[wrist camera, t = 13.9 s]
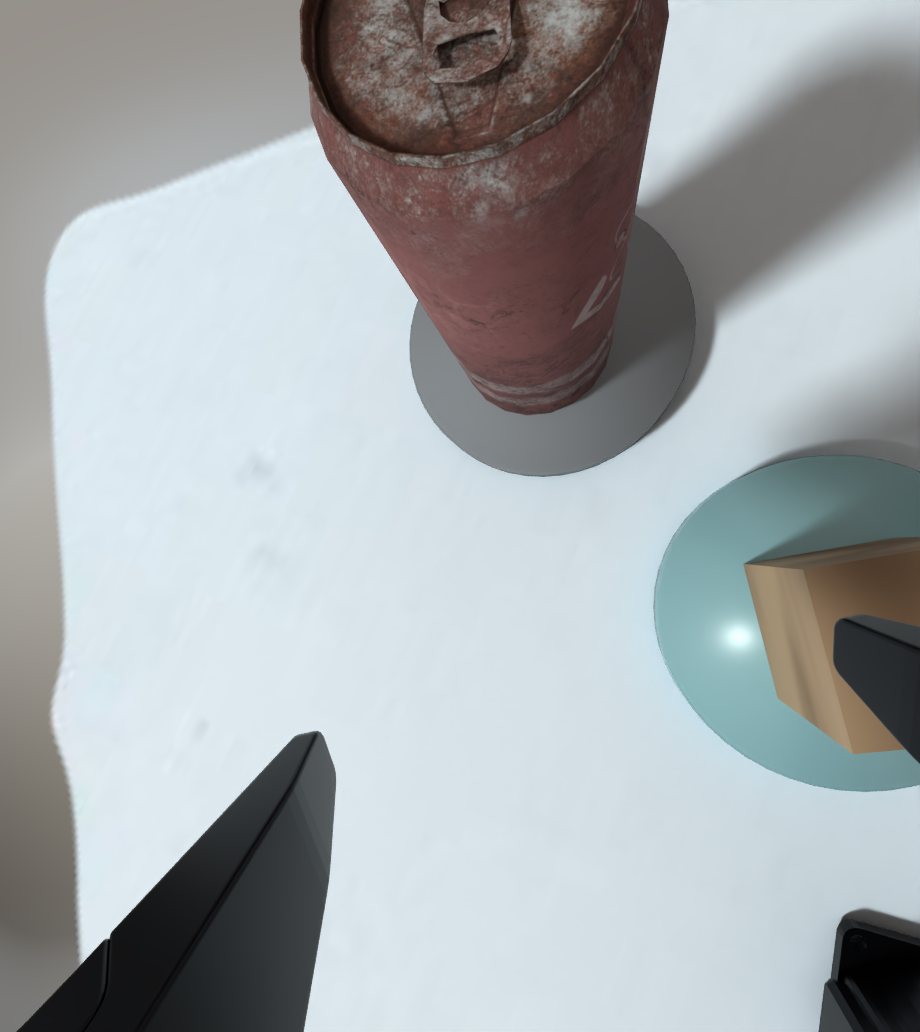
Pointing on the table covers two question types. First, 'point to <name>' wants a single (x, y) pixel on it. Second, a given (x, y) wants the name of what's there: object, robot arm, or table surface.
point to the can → (495, 167)
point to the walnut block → (832, 627)
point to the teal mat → (732, 618)
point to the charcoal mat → (601, 410)
